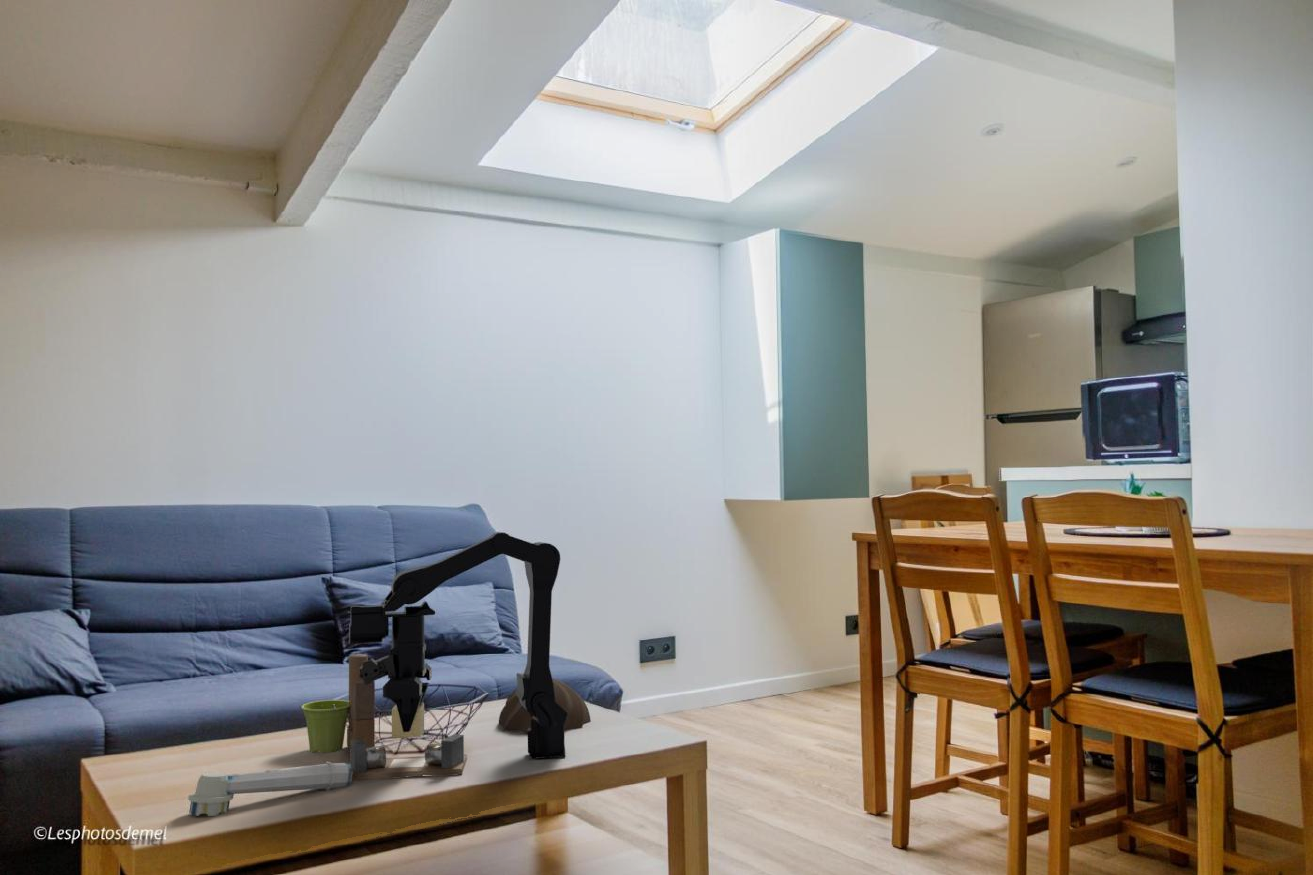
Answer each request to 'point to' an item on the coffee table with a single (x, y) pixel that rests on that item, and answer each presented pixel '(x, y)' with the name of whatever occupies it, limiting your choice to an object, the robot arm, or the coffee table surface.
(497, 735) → the coffee table surface
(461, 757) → the shaft
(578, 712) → the decorative dome
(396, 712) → the cream cube
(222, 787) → the toothbrush head
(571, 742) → the coffee table surface
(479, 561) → the robot arm
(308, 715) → the plant pot
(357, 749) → the shaft
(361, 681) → the wooden block
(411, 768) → the board
